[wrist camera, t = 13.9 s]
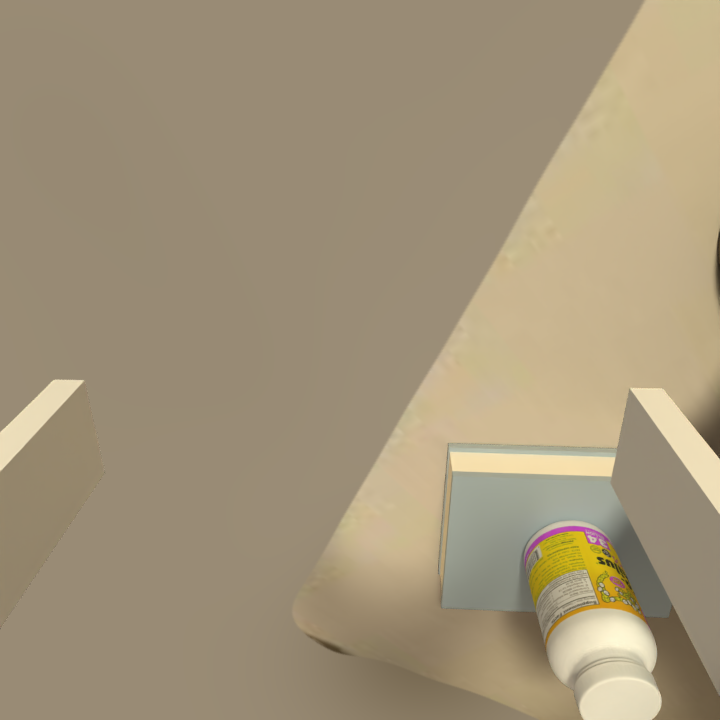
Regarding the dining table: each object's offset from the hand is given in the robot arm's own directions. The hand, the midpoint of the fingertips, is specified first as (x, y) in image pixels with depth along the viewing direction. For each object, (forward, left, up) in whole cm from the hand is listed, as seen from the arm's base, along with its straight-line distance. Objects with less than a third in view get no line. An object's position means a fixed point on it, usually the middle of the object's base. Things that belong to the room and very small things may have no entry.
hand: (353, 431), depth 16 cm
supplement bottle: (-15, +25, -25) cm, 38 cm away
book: (-15, +25, -29) cm, 41 cm away
